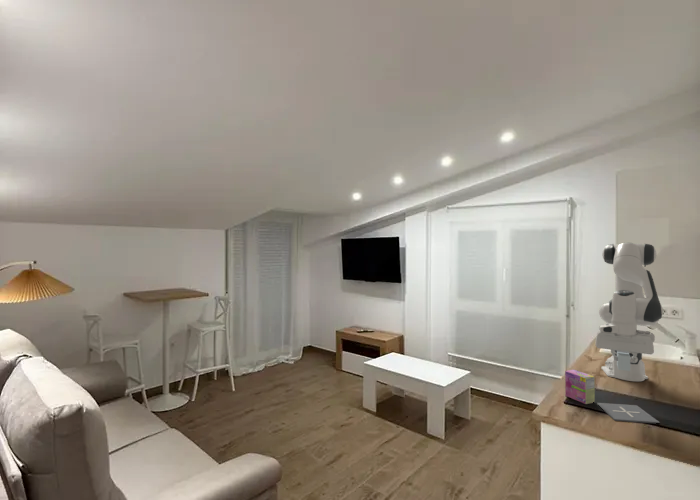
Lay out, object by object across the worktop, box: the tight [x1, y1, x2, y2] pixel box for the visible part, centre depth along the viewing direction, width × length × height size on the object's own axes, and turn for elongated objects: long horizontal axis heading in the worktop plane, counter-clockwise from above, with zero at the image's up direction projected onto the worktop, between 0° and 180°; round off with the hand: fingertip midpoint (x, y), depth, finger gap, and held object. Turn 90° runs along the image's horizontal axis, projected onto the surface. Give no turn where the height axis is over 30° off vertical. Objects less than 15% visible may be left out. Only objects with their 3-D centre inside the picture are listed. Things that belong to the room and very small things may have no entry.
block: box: [617, 350, 630, 371], centre depth 163 cm, size 4×9×6 cm, turn 149°
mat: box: [595, 402, 661, 424], centre depth 160 cm, size 16×16×1 cm
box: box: [564, 369, 596, 405], centre depth 174 cm, size 10×6×12 cm, turn 21°
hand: (623, 361), depth 163 cm, fingers closed on block, 4 cm apart
